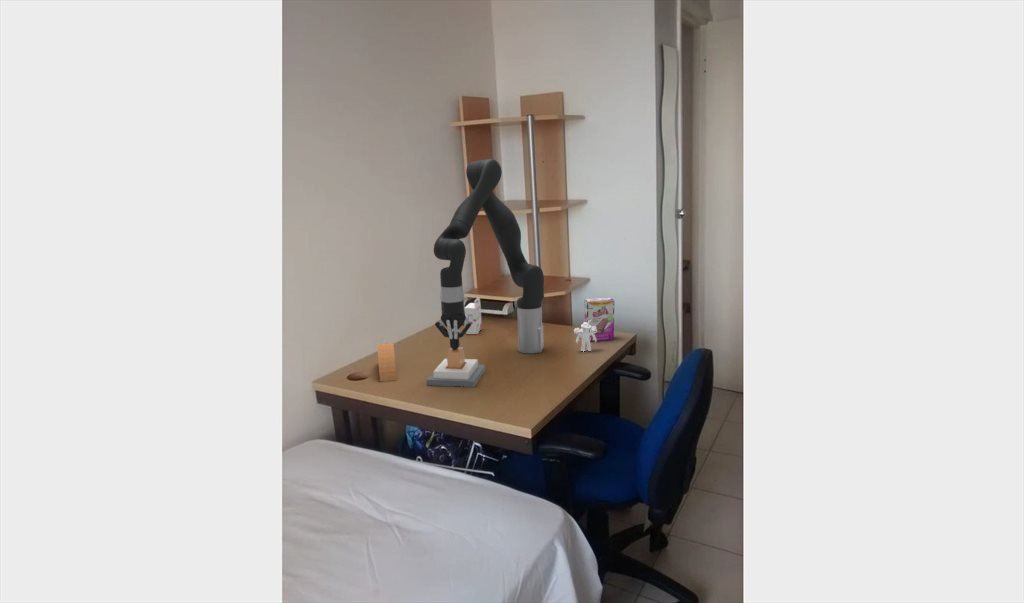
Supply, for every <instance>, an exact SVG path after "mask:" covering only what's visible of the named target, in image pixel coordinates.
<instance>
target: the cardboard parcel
mask: <svg viewBox="0 0 1024 603" xmlns="http://www.w3.org/2000/svg"><path fill="white" fill-rule="evenodd" d="M446 359H447V364H448V369H462V368H463V367H464V366H465V359H466V357H465V347H464V346H463V347H462V346H459V347H458V349H457V350H452V348H451V347H450V348H449V349H448V350H447V351H446Z"/></svg>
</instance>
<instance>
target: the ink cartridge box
mask: <svg viewBox="0 0 1024 603" xmlns="http://www.w3.org/2000/svg"><path fill="white" fill-rule="evenodd" d="M481 307H482V306H481V297H480V296H478V297H477V298H476V299H475V300H474V302H469V303H468V304H467V305H466V306H464V314H465V316H466V319H467V320H468V321H469V322H472V325H471V327H470V328H469V329H468V331H467V332H466V333H465V335H466V334H477V335H478V334H479V333H480V332H481V331H482V330H483V328H482V327H483V326H482V308H481ZM480 330H481V331H480ZM479 331H480V332H479Z"/></svg>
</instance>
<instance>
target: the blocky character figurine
mask: <svg viewBox="0 0 1024 603" xmlns="http://www.w3.org/2000/svg"><path fill="white" fill-rule="evenodd" d="M591 321H592V319H591V320H590V321H589V322H588V323H590V322H591ZM588 323H587V322H584V321H583V323H581V325H580V327H581V328H580V327H577V328H576V327H575V328H574V329H573V332H574V333H573V334H574V335H576V339H575V343H576V344H579V343H578V342H580V341H581V347H580V352H581V351H583V352H582V353H585V352H584V351H586V350H588V351H591V350H592V348H591V347H592V344H591V341H590V335H592V337H593V340H595V341H594V343H597V342H598V341H597V339H596V337H595V335H594V333H596V332H597V329H596V328H595V327H596V326H592V328H591V326H590V325H589V324H588ZM590 328H591V329H590ZM593 331H596V332H593ZM580 338H581V340H580ZM588 351H587V352H588ZM591 352H592V351H591Z"/></svg>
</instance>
